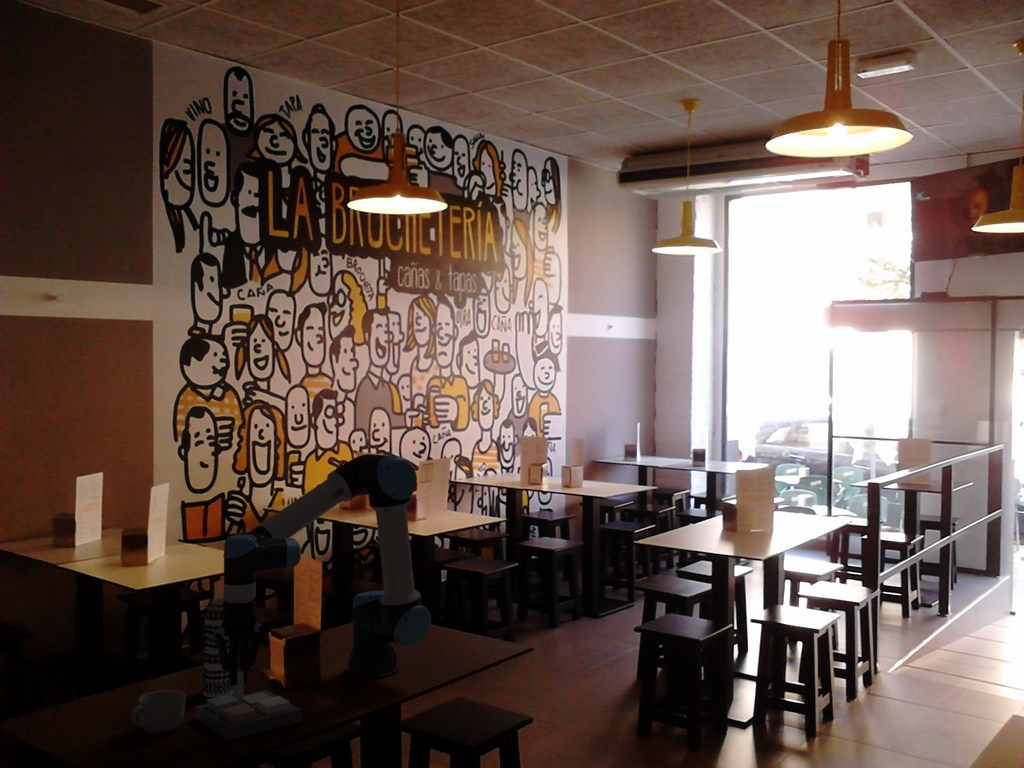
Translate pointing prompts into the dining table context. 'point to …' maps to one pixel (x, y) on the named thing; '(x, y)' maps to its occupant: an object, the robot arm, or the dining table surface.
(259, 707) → the cream key
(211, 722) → the keypad frame
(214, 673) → the decorative candle
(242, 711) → the terracotta key
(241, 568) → the robot arm
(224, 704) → the blue key
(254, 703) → the sage key
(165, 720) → the teacup
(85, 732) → the dining table surface
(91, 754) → the dining table surface
